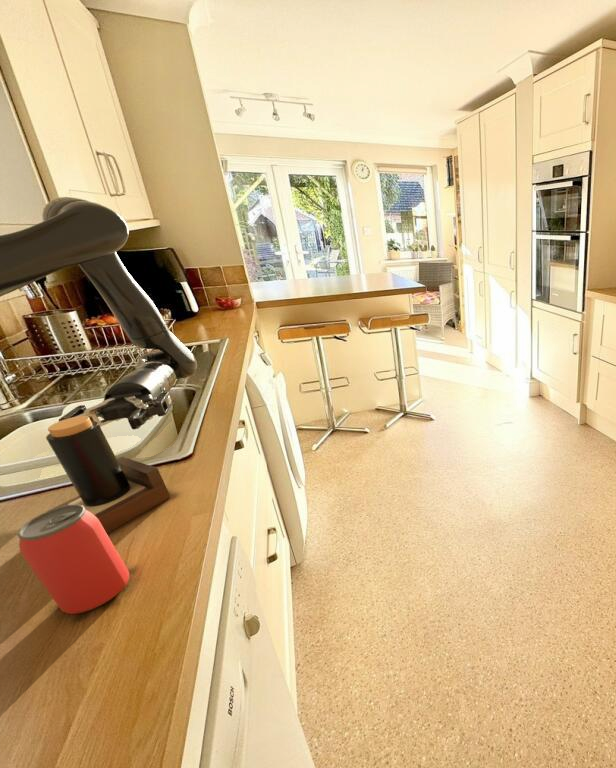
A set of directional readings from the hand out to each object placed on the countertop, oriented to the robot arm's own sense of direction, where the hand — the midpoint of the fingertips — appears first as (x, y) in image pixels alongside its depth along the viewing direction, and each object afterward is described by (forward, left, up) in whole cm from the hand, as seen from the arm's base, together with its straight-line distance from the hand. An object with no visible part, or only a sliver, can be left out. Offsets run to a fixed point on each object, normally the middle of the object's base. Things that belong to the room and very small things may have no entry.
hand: (100, 429), depth 68 cm
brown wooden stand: (+4, -4, -12) cm, 13 cm away
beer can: (+21, -14, -12) cm, 28 cm away
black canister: (+4, -4, -9) cm, 11 cm away
